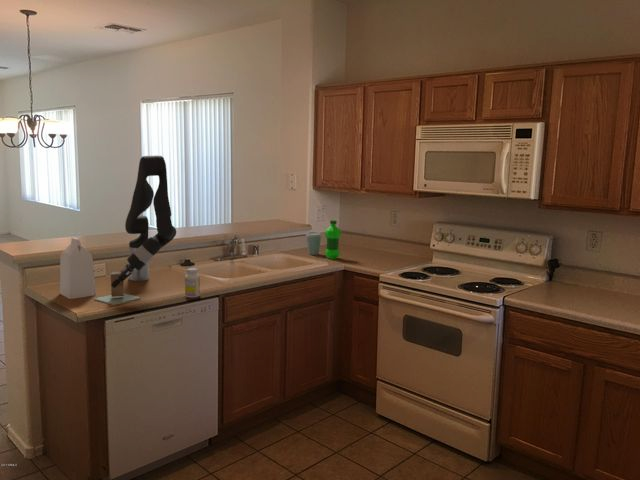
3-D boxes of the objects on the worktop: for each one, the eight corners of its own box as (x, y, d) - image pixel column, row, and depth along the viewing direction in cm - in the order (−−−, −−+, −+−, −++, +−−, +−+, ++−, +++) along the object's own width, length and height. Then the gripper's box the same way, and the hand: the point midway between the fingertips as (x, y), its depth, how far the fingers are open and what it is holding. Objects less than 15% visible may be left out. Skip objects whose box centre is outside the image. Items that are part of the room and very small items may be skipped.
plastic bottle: (321, 258, 353) (322, 220, 349) (331, 256, 361) (332, 219, 357) (333, 260, 346) (334, 222, 342) (343, 258, 354) (344, 220, 350)
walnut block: (112, 294, 241) (111, 272, 240) (123, 293, 243) (123, 271, 241) (111, 296, 236) (110, 274, 235) (123, 296, 238) (122, 274, 237)
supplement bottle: (193, 293, 254) (193, 267, 252) (202, 296, 249) (202, 269, 247) (182, 296, 248) (181, 269, 246) (191, 298, 244) (190, 271, 242)
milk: (60, 293, 247) (57, 237, 243) (85, 290, 255) (83, 235, 251) (69, 299, 238) (67, 241, 234) (95, 295, 246) (93, 239, 242)
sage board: (94, 299, 238) (94, 298, 238) (121, 293, 249) (121, 292, 249) (113, 305, 230) (113, 303, 230) (140, 298, 242) (140, 297, 242)
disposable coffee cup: (323, 255, 365) (324, 233, 362) (310, 256, 359) (310, 234, 357) (316, 252, 374) (316, 231, 371) (302, 253, 368) (303, 231, 366)
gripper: (134, 249, 246) (106, 276, 244) (134, 254, 232) (105, 283, 230) (146, 260, 248) (119, 286, 246) (147, 266, 235) (118, 294, 233)
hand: (112, 285), depth 238 cm, fingers closed on walnut block, 5 cm apart
